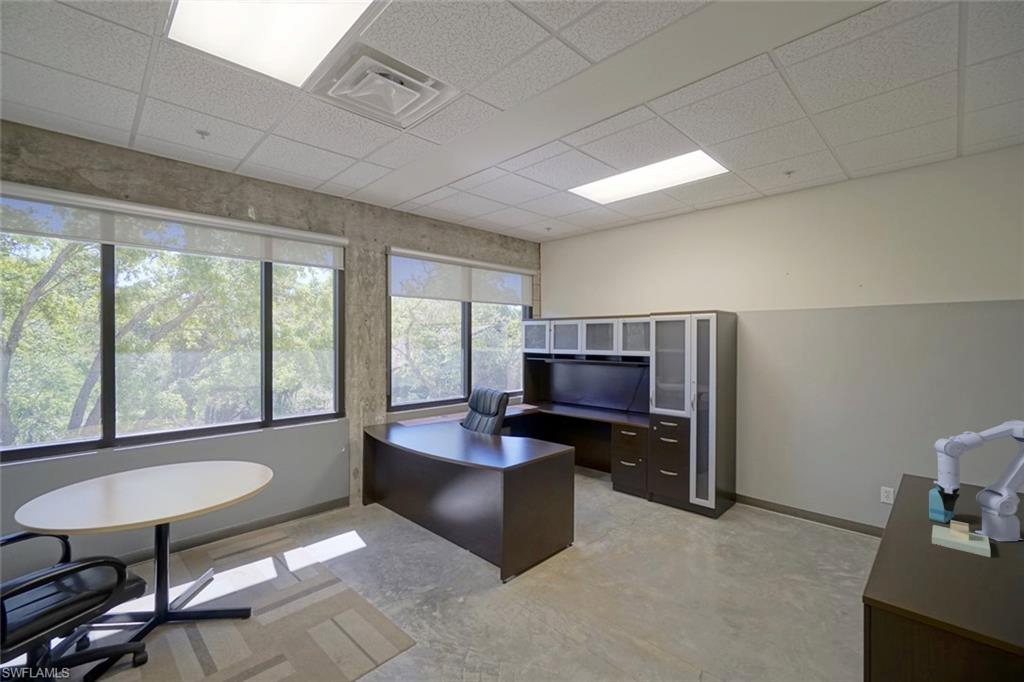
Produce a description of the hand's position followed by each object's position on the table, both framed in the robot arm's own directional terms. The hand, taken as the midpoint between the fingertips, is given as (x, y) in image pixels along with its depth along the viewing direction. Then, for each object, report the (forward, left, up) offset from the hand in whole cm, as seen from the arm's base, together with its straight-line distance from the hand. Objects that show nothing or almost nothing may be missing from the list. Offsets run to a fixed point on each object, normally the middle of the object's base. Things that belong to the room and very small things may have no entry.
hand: (948, 508), depth 162 cm
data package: (-11, -12, -10) cm, 19 cm away
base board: (+5, +8, -9) cm, 13 cm away
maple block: (+5, +8, -7) cm, 12 cm away
